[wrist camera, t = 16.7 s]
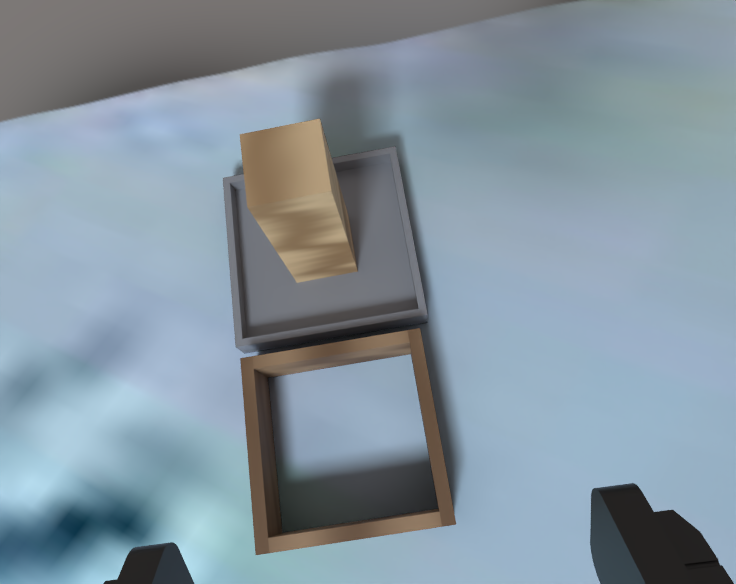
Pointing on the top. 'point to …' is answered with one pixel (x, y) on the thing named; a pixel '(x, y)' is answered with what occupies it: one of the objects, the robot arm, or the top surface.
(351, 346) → the square wooden frame
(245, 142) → the oak peg
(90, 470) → the top surface
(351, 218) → the tray
